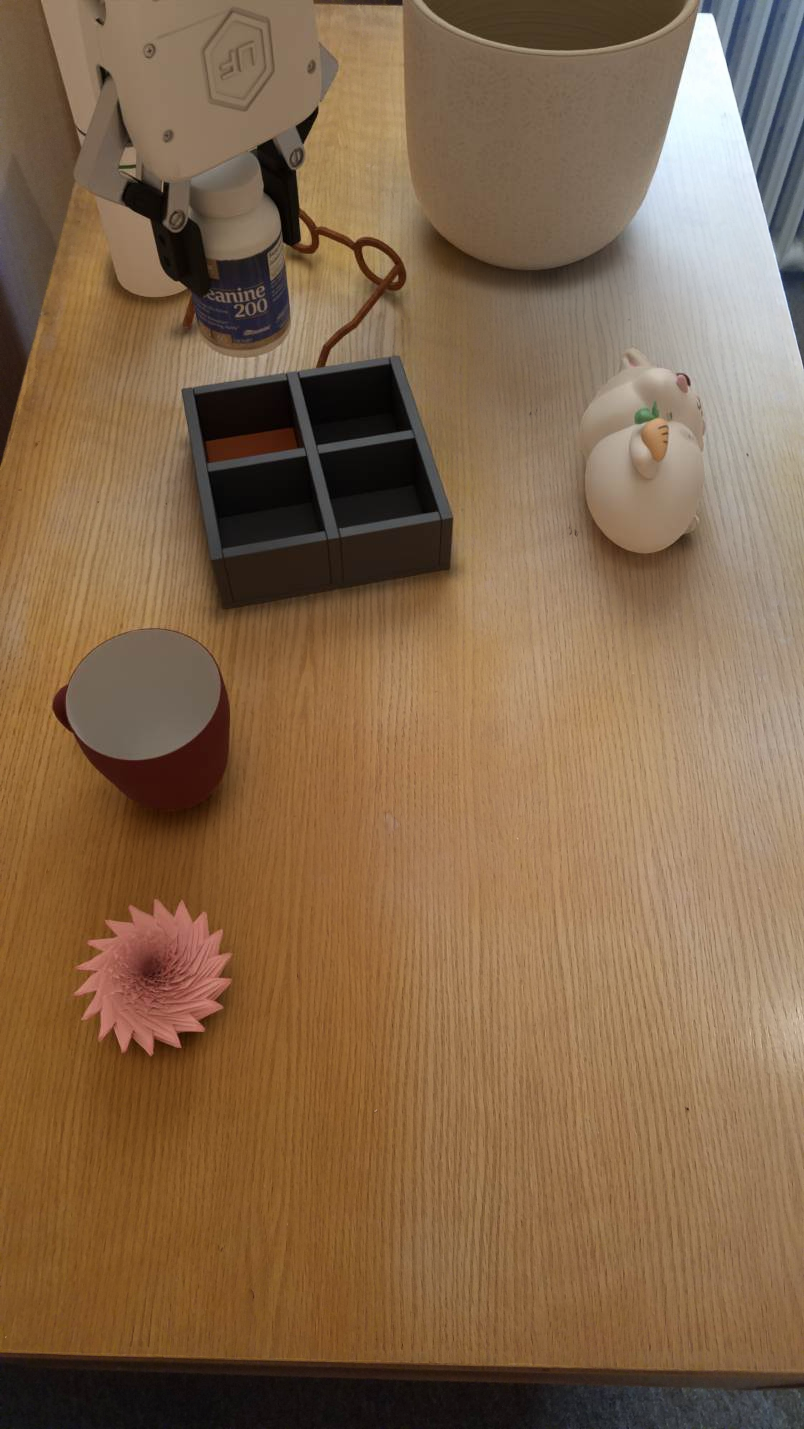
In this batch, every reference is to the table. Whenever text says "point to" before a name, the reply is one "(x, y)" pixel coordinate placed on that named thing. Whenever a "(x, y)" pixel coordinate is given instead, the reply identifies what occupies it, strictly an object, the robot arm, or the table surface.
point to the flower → (155, 977)
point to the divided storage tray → (316, 481)
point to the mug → (151, 716)
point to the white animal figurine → (644, 455)
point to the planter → (539, 119)
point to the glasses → (357, 248)
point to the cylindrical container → (120, 223)
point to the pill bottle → (240, 260)
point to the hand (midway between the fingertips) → (234, 254)
